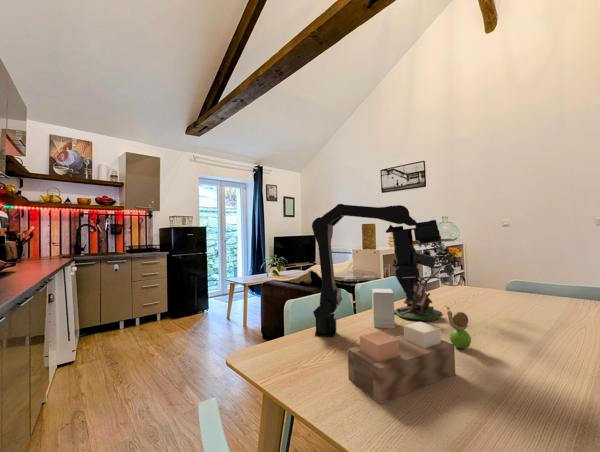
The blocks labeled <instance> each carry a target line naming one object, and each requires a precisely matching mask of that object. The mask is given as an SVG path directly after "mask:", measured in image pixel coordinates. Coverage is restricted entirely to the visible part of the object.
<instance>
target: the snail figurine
mask: <svg viewBox="0 0 600 452" xmlns="http://www.w3.org/2000/svg"><path fill="white" fill-rule="evenodd" d="M446 310H447V311H446V314H447V316H448V321H449V325H450V326H451V328H453V329H452V330H451V332H450V333H449V340H450V343H451V344H454V347H455V348H456V349H457V348H458V349H466V348H469V347H470V345H471V343H472V338H471V335H470V334H469V333H468V331H466V329H467V328H468V327H469V325H468V323H469V317H468V315H467V314H466V313H465V312H461V311H457V312H456V313H454V315H453V311H451V308H450V307H448V306H446Z"/></svg>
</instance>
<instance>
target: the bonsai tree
mask: <svg viewBox="0 0 600 452" xmlns="http://www.w3.org/2000/svg"><path fill="white" fill-rule="evenodd" d="M417 246H418V247H419V248H421V247H422V246H424V247H425V249H426V251H429V250H428V248H427V246H430V247H431V248H433V250H434V251H436V249H439V250H437V251H436V254H434V255H433V256H434V257H436V262H435V266H439V269H438V270H437V271H436V272H435V273H434V271H433V268H430V269H431V274H430V275H429V276H424V277H420V276H419V278H418V279H420V280H419V284H418V283H416V282H414V286H417V288H416V289H415V290H414V292H413V300H409V299H408V297H407V295H406V294H405V299H404V301H403V303H404V304H406V305H405V306H401V307H399V308H396V309H394V315H395V314H396V315H397V316H400V318H403V319H406V320H416V321H421V322H423V321H424V322H433V321H435V320H438V319H439V318H440V315H442V314H443V312H442V311H440V310H437V309H434V308H435V307H434V306H430V304H432V303H433V300H432V299H430V297H429V296H430V295H431V293H430V292H428V293H427V292H426V287H427V285H428V282H429V281H430V280H432V279H439V280H441V281H442V284H443V285H445V286H448V287H458V286H459V285H460V283H459V282H458V281H457V280H453V281H450V283H452V284H448V283H445V279H444V278H442V277H439V276H436V275H437V274H442V273H444V272H445V273H446V274H447V276H448V277H449V278H451V276H452V275H455V271H457V272H458V270H457V269H454V267H453V265H450V264H452V263H454V262H455V263H457V262H458V260H457V259H458V257H457V254H456V252H455V251H451V252H450V249H447V248H446V247H445V246H446V245H445V244H444V243H443V240H442V238H440V242H436V243H426V244H420V243H419V242H418V244H417ZM443 261H445V262H446V263H444V264H443ZM447 261H448V263H447ZM392 262H393V264H392V267H394V270H396V268H397V267H396V259H393V261H392ZM440 264H443V265H442V266H441V265H440ZM443 266H444V267H443ZM422 281H423V283H422ZM454 282H456V283H457V284H453V283H454ZM420 285H421V287H420ZM419 290H420V293H418V292H419Z"/></svg>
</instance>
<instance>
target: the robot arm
mask: <svg viewBox="0 0 600 452" xmlns="http://www.w3.org/2000/svg"><path fill="white" fill-rule="evenodd" d="M344 217H352V218H353V217H357V218H367V219H377V220H382V221H385V222H389V223H393V224H396V225H398V226H393V225H392V224H389V226H388V228H387V229H386V230H385V233H386V234H388V233H389V234H390V233H392V240H393V241H392V242H393V249H394V250H393V251H394V255H395V261H396V264H395V265H396V267H397V268H396V269H394V271H395V272H394V273H395V278H396V280H397V281H398V283H399V285H400V286H401V288H402V290H403V291H404V293H405V296H406V295H407V297H408V299H409V300H413V292H414V291H415V290H414V289H415V285H414V283H416V281H418V279H420V278H419V277H420V270H419V268H418V264H419V265H422V266H426V267H428V268H430V269H431V268H432V269H434V268H435V266H436V264H435V263H436V257H435V256H434V255H432V253H431V251H428V250H424V251H423V252H422V253H421V252H417V251H416V248H415V247H414V246H415V245H414V241H415V242H418V244H419V243H420V244H422V245H423V244H425V245H426V243H428V244H432V243H435V244H436V242H440V241H441V240H440V239H441V233H440V230H439V226H438V223H437V220H436V219H432V220H427V221H421V222H420V221H419V222H417V221H416V219H414V218H413V217H411V215H410V211H409V209H408V208H407V207H406V206H405V205H399V204H398V205H397V204H396V205H388V206H368V205H367V206H365V205H351V204H343V203H338V204H337V205H335V207H333V208H332V209H330V210H328V211H327V212H326V213H324V214H323V215H322V216H321V217H320V216H319V217H316V218H315V219H314V220H313V222H312V224H311V228H312V233H313V235H314V238H315V240H316V242H317V244H318V245H317V246H318V254H319V255H318V256H319V266H320V276H321V277H320V278H321V284H322V285H321V290H320V291H321V292H320V295H319V296H320V297H319V298H320V299H319V305H318V307H316V308H315V309H314V311H313V312H312V314H313V315H314V318H315V333H314V335H315V336H317V337H318V336H319V337H321V336H322V337H332V338H333V337H335V336H336V335H335V334H336V333H337V329H338V328H337V327H338V326H337V325H338V324H337V318H336V317H335V312H336V310H338V308H339V307H340V305H341V303H342V301H343V297H342V288H341V287H340V288H338V287H337V284H336V280H335V271H334V260H333V253H332V252H333V251H332V239H333V231H334V226H336V225H337V224H338V223H339V222H340V221H341V220H342V219H343V218H344ZM403 224H404V225H406V226H408V227H409V228H404V226H403ZM413 226H414V227H413ZM410 227H413V228H410ZM413 232H414V237H413ZM413 238H414V239H413Z"/></svg>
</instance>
